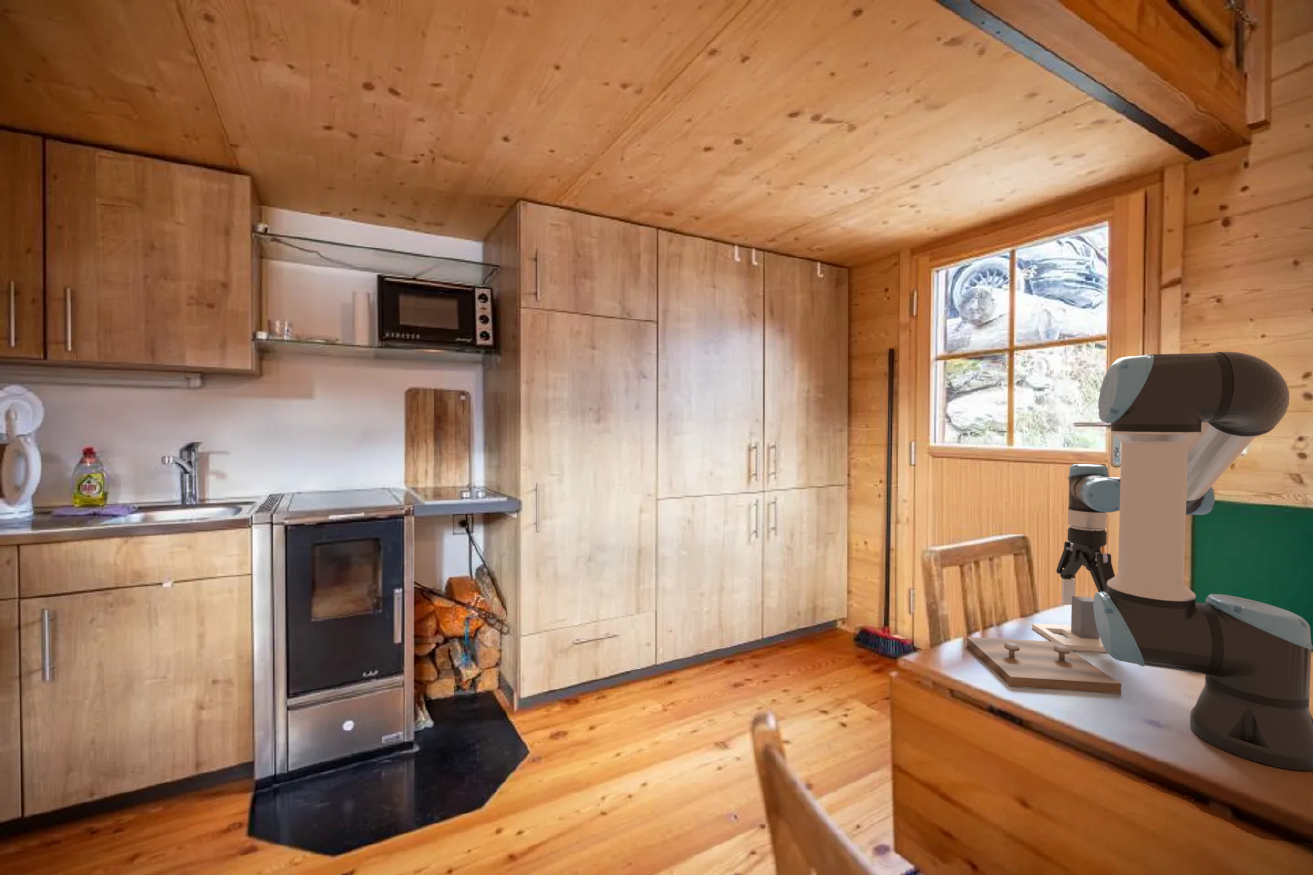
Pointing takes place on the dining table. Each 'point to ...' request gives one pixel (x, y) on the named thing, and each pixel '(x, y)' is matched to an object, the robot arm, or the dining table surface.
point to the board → (1041, 665)
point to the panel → (1069, 639)
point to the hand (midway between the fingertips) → (1085, 613)
